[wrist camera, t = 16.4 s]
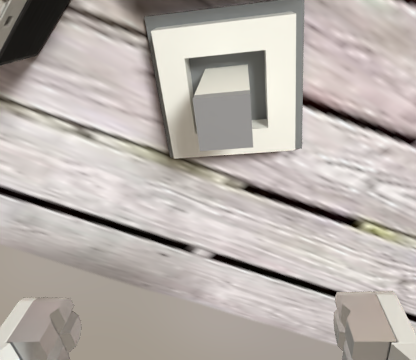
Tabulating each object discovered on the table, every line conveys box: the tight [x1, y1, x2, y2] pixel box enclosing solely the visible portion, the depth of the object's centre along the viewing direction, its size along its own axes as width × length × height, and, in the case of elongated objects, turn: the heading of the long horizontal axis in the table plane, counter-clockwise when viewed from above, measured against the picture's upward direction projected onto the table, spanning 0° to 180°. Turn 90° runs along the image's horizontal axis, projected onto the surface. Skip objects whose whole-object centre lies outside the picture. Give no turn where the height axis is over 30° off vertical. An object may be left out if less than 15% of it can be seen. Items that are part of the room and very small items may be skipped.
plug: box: [193, 64, 253, 151], centre depth 29 cm, size 4×4×10 cm
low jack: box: [144, 0, 304, 159], centre depth 33 cm, size 14×14×3 cm
